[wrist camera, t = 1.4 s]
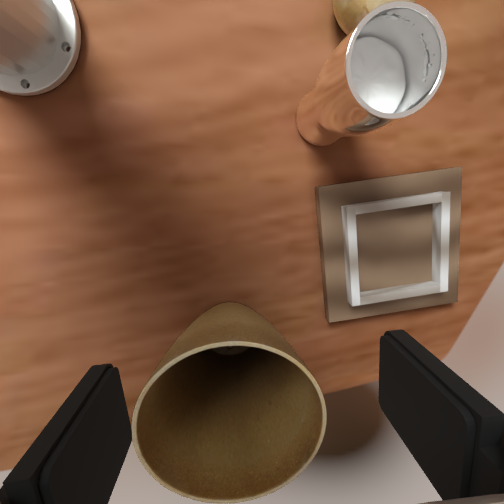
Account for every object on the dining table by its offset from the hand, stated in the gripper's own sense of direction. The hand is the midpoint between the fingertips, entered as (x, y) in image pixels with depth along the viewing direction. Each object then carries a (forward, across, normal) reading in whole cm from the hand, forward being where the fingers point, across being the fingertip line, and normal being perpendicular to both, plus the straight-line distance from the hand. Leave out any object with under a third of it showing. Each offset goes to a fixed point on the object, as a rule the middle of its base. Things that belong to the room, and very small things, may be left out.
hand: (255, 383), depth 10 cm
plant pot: (+26, +2, +11) cm, 28 cm away
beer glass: (+26, -11, -13) cm, 31 cm away
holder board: (+25, -19, +2) cm, 32 cm away
